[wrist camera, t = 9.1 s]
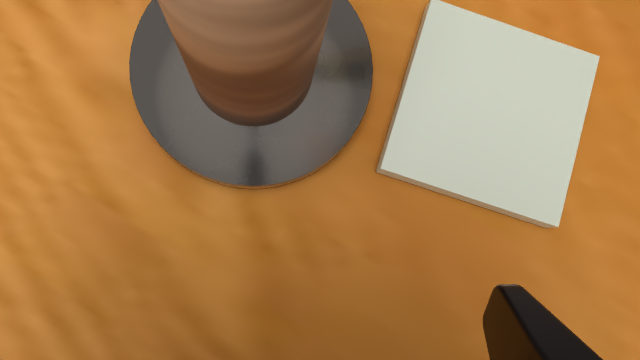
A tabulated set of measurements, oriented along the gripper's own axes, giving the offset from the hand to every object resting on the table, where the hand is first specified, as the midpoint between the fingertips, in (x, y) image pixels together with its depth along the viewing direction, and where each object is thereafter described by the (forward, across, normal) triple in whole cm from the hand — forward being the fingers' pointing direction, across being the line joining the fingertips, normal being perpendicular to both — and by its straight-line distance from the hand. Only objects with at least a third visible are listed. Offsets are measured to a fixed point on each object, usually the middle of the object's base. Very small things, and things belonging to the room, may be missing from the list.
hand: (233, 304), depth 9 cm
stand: (+14, -10, +5) cm, 18 cm away
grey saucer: (+16, 0, +4) cm, 16 cm away
